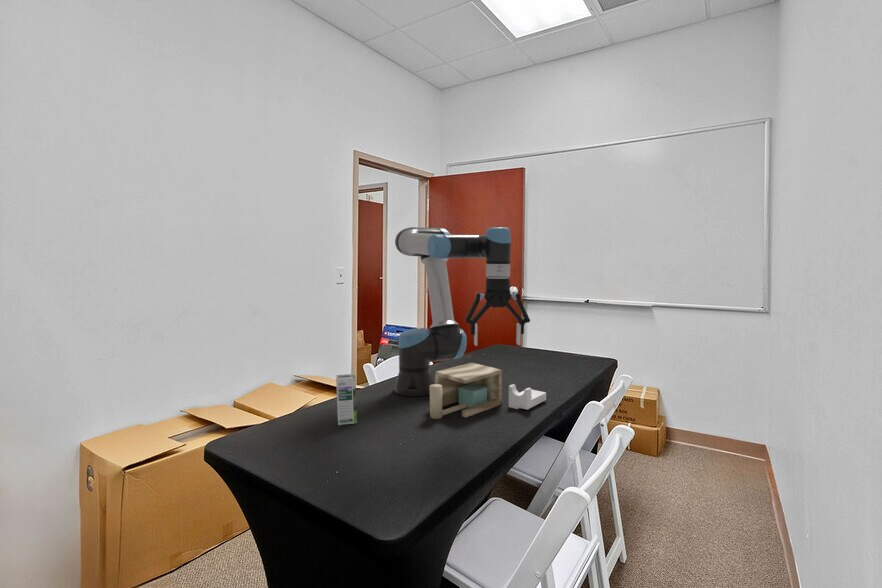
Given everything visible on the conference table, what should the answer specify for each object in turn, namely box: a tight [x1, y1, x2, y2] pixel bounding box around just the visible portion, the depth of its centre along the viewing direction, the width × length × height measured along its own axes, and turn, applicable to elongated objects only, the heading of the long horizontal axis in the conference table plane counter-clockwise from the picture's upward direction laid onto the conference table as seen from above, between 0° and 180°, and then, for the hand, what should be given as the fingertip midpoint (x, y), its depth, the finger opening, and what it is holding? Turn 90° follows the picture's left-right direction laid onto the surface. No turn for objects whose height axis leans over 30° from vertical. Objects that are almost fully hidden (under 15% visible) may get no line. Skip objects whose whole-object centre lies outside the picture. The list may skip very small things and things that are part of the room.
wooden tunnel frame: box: [434, 362, 503, 418], centre depth 148 cm, size 14×18×12 cm
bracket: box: [508, 383, 547, 410], centre depth 149 cm, size 13×7×8 cm, turn 139°
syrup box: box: [335, 373, 358, 426], centre depth 134 cm, size 6×6×14 cm
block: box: [429, 383, 487, 420], centre depth 144 cm, size 7×22×10 cm, turn 132°
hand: (497, 344), depth 137 cm, fingers open, 13 cm apart
